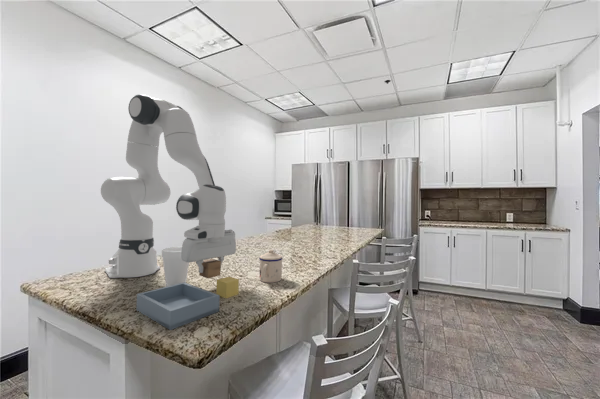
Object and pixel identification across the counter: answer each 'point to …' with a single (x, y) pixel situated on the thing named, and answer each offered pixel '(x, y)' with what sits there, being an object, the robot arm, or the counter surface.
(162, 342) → the counter surface
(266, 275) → the teacup with lid
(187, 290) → the tray
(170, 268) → the foam cup
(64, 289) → the counter surface
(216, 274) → the walnut block
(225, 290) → the mustard block
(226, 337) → the counter surface
